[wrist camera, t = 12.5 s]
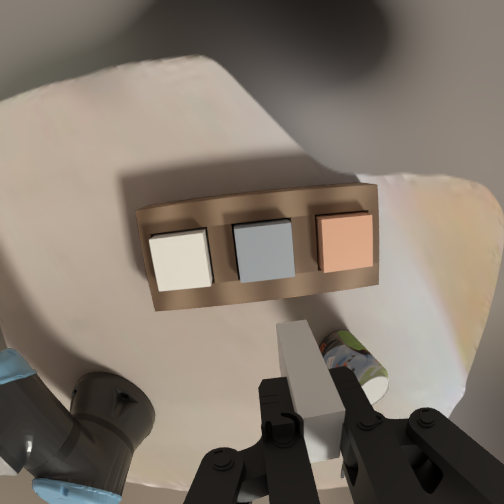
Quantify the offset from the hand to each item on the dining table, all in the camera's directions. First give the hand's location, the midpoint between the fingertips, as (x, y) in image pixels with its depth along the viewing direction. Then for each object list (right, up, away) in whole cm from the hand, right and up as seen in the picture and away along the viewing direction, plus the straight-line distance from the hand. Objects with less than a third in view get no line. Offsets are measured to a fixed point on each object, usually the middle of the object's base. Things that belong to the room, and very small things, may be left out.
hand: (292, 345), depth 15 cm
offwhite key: (-10, +5, +21) cm, 23 cm away
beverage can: (+11, -9, +28) cm, 31 cm away
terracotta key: (+8, +7, +21) cm, 23 cm away
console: (-1, +6, +23) cm, 24 cm away
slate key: (-1, +6, +21) cm, 21 cm away
